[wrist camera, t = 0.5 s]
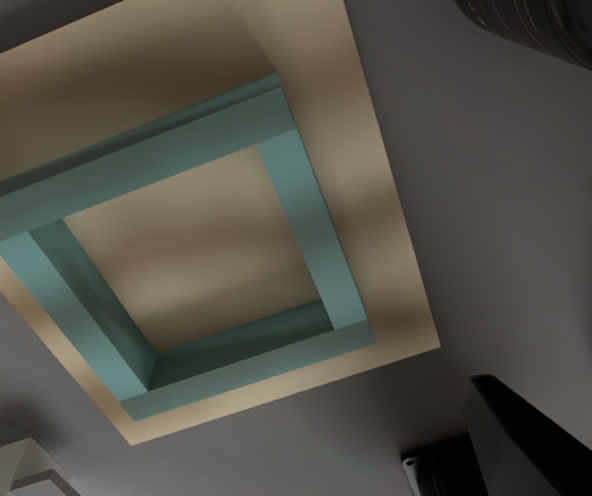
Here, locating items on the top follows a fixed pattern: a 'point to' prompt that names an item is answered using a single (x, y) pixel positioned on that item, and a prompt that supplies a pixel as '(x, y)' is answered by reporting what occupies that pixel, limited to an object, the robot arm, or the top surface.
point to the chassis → (203, 208)
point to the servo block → (31, 471)
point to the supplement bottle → (539, 25)
